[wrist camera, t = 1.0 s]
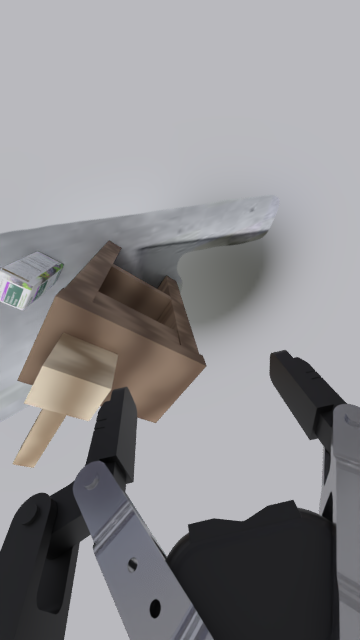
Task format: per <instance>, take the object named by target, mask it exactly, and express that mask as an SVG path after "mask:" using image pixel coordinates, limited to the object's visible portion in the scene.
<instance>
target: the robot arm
mask: <svg viewBox="0 0 360 640" xmlns="http://www.w3.org/2000/svg"><path fill="white" fill-rule="evenodd" d="M270 378H271V381H272V383H273V385H274V386H275V388H276V389H277V390H278V392H279V393H280V395H281V397H282V398H283V400H284V401H285V403H286V404H287V406H288V407H289V409H290V411H291V412H292V414H293V415H294V417H295V418H296V419H297V421H298V423H299V424H300V426H301V427H302V428H303V430H304V432H305V433H306V435H307V436H308V438H309V439H310V440H312V439H317V438H318V439H319V440H320V442H321V443H322V444H323V446H324V447H323V471H322V491H321V498H320V507H319V514H317V513H314V512H312V511H309V510H305V509H302V508H297V506H296V504H295V502H294V500H291V501H286V502H282V503H278V504H274V505H269V506H267V507H265V508H264V509H262V510H261V511H259V512H258V513H256V514H255V515H253V516H252V517H250V518H249V519H247V520H245V521H232V520H223V519H210V520H205V521H201V522H197V523H193V524H189V525H188V528H189V533H188V534H186V535H185V536H184V537H182V538H181V539H180V540H179V541H178V542H177V543H176V545H175V546H174V547H173V549H172V550H171V552H170V553H169V555H168V556H166V554H165V553H164V551H163V550H162V548H161V547H160V545H159V544H158V542H157V540H156V539H155V538H154V536H153V535H152V533H151V532H150V530H149V528H148V527H147V525H146V524H145V522H144V521H143V519H142V518H141V516H140V514H139V513H138V511H137V510H136V508H135V507H134V505H133V503H132V502H131V500H130V499H129V497H128V496H127V494H126V493H125V489H126V484H127V483H132V482H133V480H134V461H135V445H136V428H137V408H136V404H135V402H134V400H133V398H132V395H131V393H130V391H129V389H128V387H122V388H118V389H114V390H112V394H111V399H110V401H106V402H104V403H103V405H102V407H101V408H100V410H99V412H98V416H97V420H96V421H97V422H96V424H95V428H94V429H95V431H94V432H93V437H92V441H91V445H90V449H89V453H88V457H87V461H86V465H85V467H84V468H83V469H82V470H81V471H80V472H79V473H78V475H77V477H76V479H75V481H73V482H72V483H71V484H70V485H68V486H66V487H65V488H63V489H61V490H60V491H58V492H56V493H55V494H53V495H51V496H49V495H48V494H46V493H38V494H35V495H33V496H32V497H30V498H29V499H28V500H26V502H24V504H22V505H21V507H20V508H19V509H18V511H17V512H16V514H15V516H14V518H13V520H12V522H11V525H10V528H9V530H8V533H7V535H6V538H5V541H4V543H3V546H2V549H1V551H0V640H64V635H65V630H66V623H67V616H68V610H69V604H70V599H71V593H72V586H73V580H74V574H75V568H76V562H77V556H78V550H79V543H80V541H82V540H83V539H85V538H86V537H88V536H89V535H91V536H92V538H93V541H94V545H93V550H94V554H95V556H96V559H97V561H98V564H99V566H100V568H101V571H102V573H103V576H104V578H105V580H106V583H107V585H108V588H109V590H110V593H111V595H112V597H113V600H114V602H115V605H116V607H117V609H118V612H119V614H120V617H121V619H122V621H123V624H124V626H125V629H126V631H127V633H128V636H129V638H130V640H360V407H358V406H355V405H351V404H347V403H346V402H345V401H344V400H343V399H342V398H341V397H340V396H339V395H338V394H337V393H336V392H335V391H334V390H333V389H332V388H331V387H330V386H329V384H327V382H326V381H325V380H324V379H323V378H321V376H320V375H319V374H318V373H317V372H315V370H314V369H313V368H312V367H311V366H310V364H308V363H307V362H306V361H304V360H302V359H300V358H298V357H296V358H293V357H292V356H291V355H290V354H289V353H288V352H287V351H286V350H283V351H279V352H274V353H271V355H270Z"/></svg>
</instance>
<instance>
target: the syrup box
mask: <svg viewBox="0 0 360 640" xmlns="http://www.w3.org/2000/svg"><path fill="white" fill-rule="evenodd" d="M62 267H63V264H62V263H60V262H58V261H56V260H54V259H52V258H50V257H48V256H46V255H44V254H42V253H41V252H39V251H37V252H35V253H32V254H30V255H28V256H26V257H24V258H21V259H19V260H17V261H15V262H13V263H10V264H8V265H6V266H4V267H2V268H0V301H1V302H3V303H5V304H7V305H10V306H12V307H15V308H17V309H20V310H24V309H26V308H27V307H28V306H29V305H30V304H31V303H32V302H34V301H35V300H36V299H37V298H39V297H40V296H41V295H42V294H43V293H44V292H46V291H47V290H48V289H49V288H50V287H51V286H52V285H54V284H55V282H56V280H57V278H58V276H59V274H60V272H61V269H62Z"/></svg>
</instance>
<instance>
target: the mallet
mask: <svg viewBox="0 0 360 640" xmlns="http://www.w3.org/2000/svg"><path fill="white" fill-rule="evenodd" d="M117 359H118V355H117V354H115V353H112V352H110V351H107V350H105V349H103V348H100V347H98V346H95V345H93V344H90V343H88V342H85V341H83V340H81V339H78V338H76V337H73V336H71V335H68V334H66V333H63V334H62V336H61V337H60V339H59V341H58V342H57V344H56V345H55V347H54V348H53V350H52V352H51V353H50V355H49V356H48V358H47V359H46V361H45V363H44V364H43V366H42V368H41V370H40V372H39V374H38V376H37V378H36V380H35V382H34V384H33V386H32V388H31V390H30V392H29V394H28V396H27V398H26V400H25V402H24V404H28V405H31V406H35V407H39V408H42V410H41V412H40V414H39V416H38V417H37V419H36V421H35V423H34V425H33V426H32V428H31V430H30V432H29V434H28V435H27V438H26V439H25V441H24V443H23V445H22V446H21V448H20V450H19V452H18V454H17V456H16V458H15V460H14V462H13V464H14V465H20V466H26V467H31V468H34V466H35V465H36V463H37V461H38V460H39V458H40V457H41V455H42V453H43V452H44V450H45V449H46V447H47V445H48V444H49V442H50V441H51V439H52V437H53V436H54V434H55V433H56V431H57V429H58V428H59V426H60V425H61V423H62V422H63V420H64V418H65V417H66V415H68V416H72V417H76V418H79V419H83V420H86V421H90V419H91V418H92V416H93V415H94V413H95V412H96V411H97V409H98V408H99V406H100V405H101V403H102V402H103V401H104V399H105V398H106V396H107V395H108V393H109V392H110V391H111V389H112V384H113V379H114V374H115V369H116V364H117Z"/></svg>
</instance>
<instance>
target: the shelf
mask: <svg viewBox="0 0 360 640" xmlns="http://www.w3.org/2000/svg"><path fill="white" fill-rule="evenodd" d="M120 250H121V247H119V246H117V245H116V244H114V243H112V242H111V241H108V242H107V243H106V244H105V245H104V246H103V248H102V249H101V250H100V251H99V252H98V253H97V254H96V255H95V256H94V257H93V258H92V259H91V260H90V262H89V263H88V264H87V265H86V266H85V267H84V268H83V269H82V270H81V271H80V272H79V273H78V274H77V276H76V277H75V278H74V279H73V280H72V281H71V282H70V283H69V284H68V285H67V286H66V287H65V288H63V289H62V290H61V291H60V292H59V293H58V294H57V295H56V296H55V298H54V301H53V303H52V305H51V307H50V309H49V312H48V314H47V316H46V318H45V320H44V323H43V325H42V327H41V329H40V331H39V334H38V336H37V338H36V340H35V342H34V345H33V347H32V349H31V351H30V354H29V356H28V358H27V360H26V362H25V365H24V367H23V369H22V371H21V373H20V376H19V378H18V380H17V381H20V382H24V383H27V384H30V385H33V384H34V382H35V380H36V378H37V376H38V374H39V372H40V370H41V368H42V366H43V364H44V363H45V361H46V359H47V358H48V356H49V355H50V353H51V352H52V350H53V348H54V347H55V345H56V344H57V342H58V341H59V339H60V337H61V336H62V334H63V333H66V334H68V335H71V336H73V337H76V338H78V339H81V340H83V341H85V342H88V343H90V344H93V345H95V346H98V347H100V348H103V349H105V350H107V351H110V352H112V353H115V354H117V355H118V359H117V364H116V369H115V374H114V379H113V384H112V389H111V391H110V392H109V393H108V395H107V396H106V398H105V399H104V401H103V402H102V403H101V405H100V406H102V405H103V403H104V402H106V401H110V399H111V394H112V390H114V389H118V388H122V387H128V389H129V391H130V393H131V395H132V398H133V400H134V402H135V404H136V408H137V417H138V418H141V419H144V420H147V421H151V422H154V423H156V422H157V421H158V420H159V419H160V418H161V417H162V415H163V414H164V413H165V412H166V411H167V410H168V409H169V408H170V406H171V405H172V404H173V403H174V402H175V401H176V400H177V399H178V397H179V396H180V395H181V394H182V393H183V392H184V391H185V390H186V388H187V387H188V386H189V385H190V384H191V383H192V382H193V380H194V379H195V378H196V377H197V376H198V375H199V374H200V373H201V372H202V370H203V369H204V368H205V367H206V363H205V361H204V358H203V356H202V355H200V354H199V352H198V348H197V345H196V342H195V339H194V336H193V333H192V330H191V326H190V324H189V320H188V317H187V314H186V311H185V308H184V304H183V301H182V298H181V295H180V292H179V289H178V286H177V282H176V281H174V280H173V279H171V278H170V277H168V276H166V277H165V278H164V280H163V281H162V283H161V284H160V286H159V287H158V289H156V288H155V287H153V286H151V285H149V284H148V283H146V282H144V281H142V280H141V279H139V278H137V277H135V276H134V275H132V274H130V273H128V272H127V271H125V270H123V269H122V268H120V267H118V266H116V265H115V264H113V263H114V261H115V259H116V257H117V256H118V254H119V252H120Z"/></svg>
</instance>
